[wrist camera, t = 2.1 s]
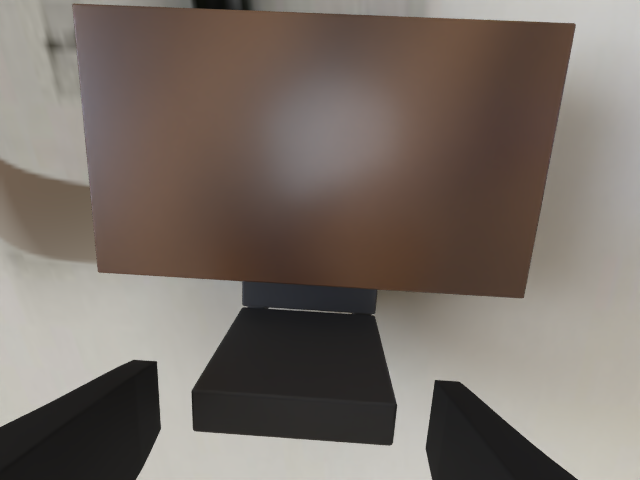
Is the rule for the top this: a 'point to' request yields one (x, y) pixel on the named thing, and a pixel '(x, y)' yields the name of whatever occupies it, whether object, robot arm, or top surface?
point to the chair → (299, 368)
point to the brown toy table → (319, 145)
